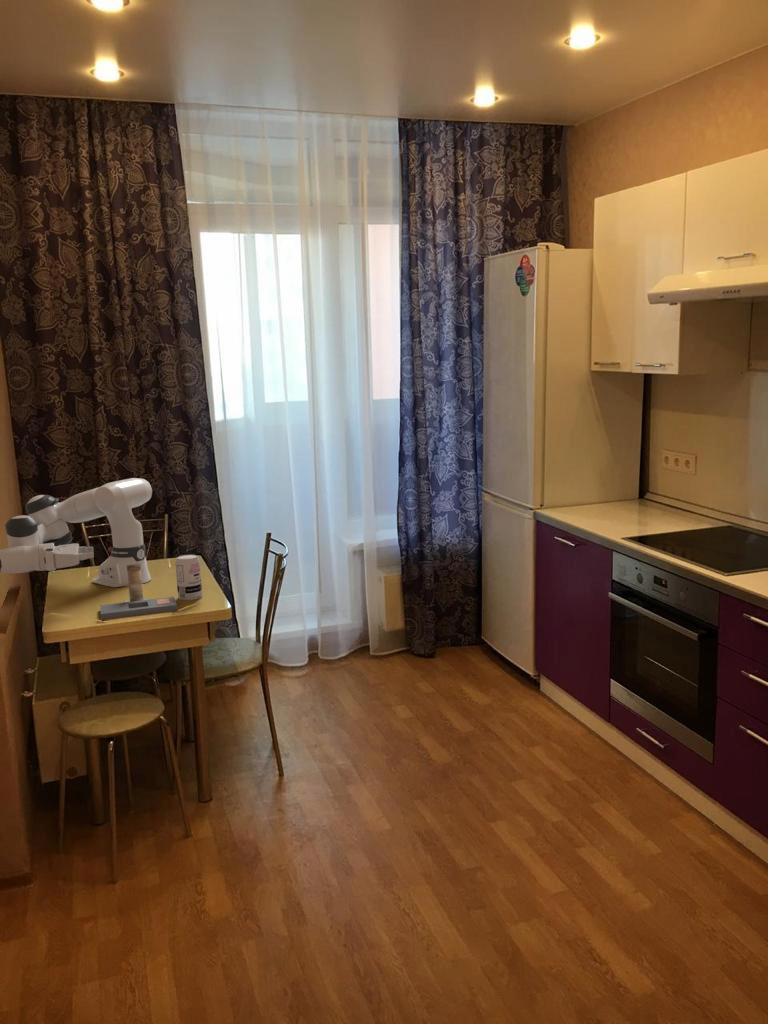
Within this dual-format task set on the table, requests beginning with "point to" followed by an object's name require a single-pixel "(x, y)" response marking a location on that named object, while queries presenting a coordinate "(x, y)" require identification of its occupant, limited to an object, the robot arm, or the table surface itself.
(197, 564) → the supplement can
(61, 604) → the table surface
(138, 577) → the maple peg
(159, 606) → the socket board
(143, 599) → the pad
